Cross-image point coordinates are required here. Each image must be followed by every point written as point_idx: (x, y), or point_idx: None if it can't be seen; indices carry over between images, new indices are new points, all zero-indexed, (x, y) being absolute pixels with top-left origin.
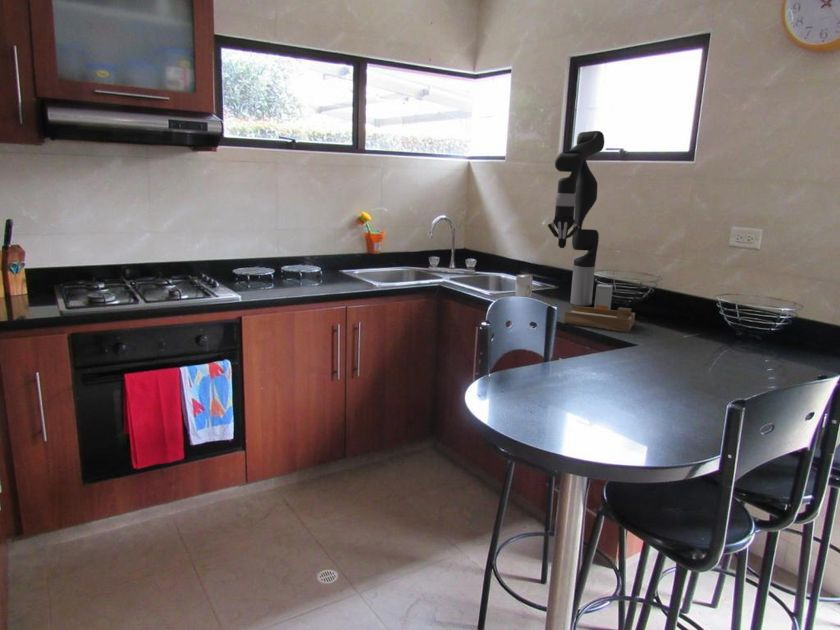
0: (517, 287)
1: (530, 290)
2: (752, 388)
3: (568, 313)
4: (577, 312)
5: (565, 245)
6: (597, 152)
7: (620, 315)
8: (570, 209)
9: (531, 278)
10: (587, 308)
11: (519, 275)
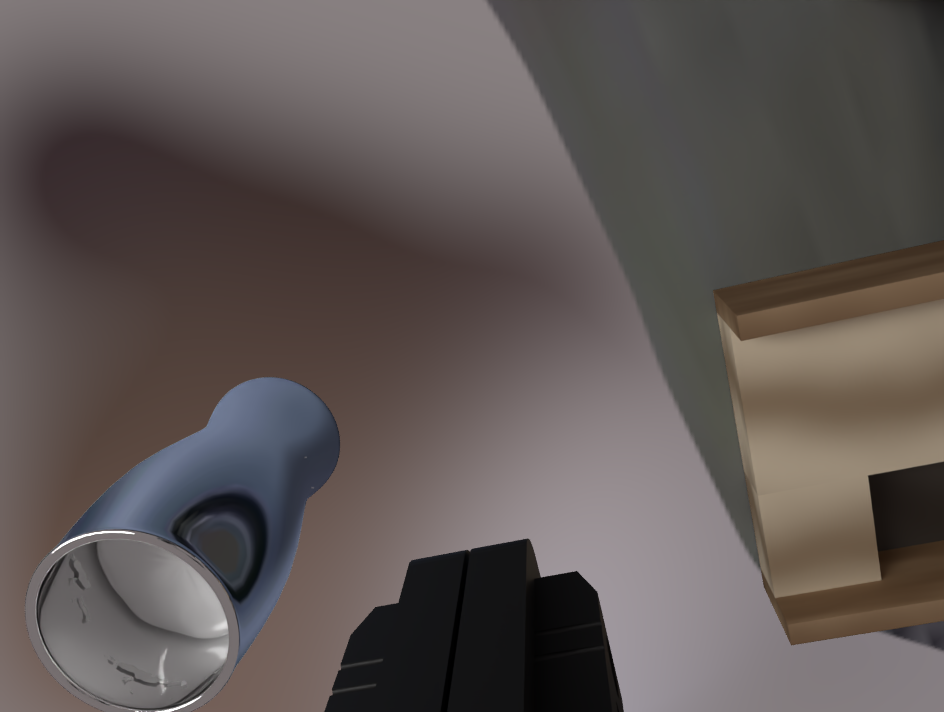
0: (172, 632)
1: (295, 546)
2: None
3: (822, 635)
4: (801, 366)
5: (609, 646)
6: None
7: None
8: None
9: (245, 614)
10: (899, 306)
11: (38, 592)
